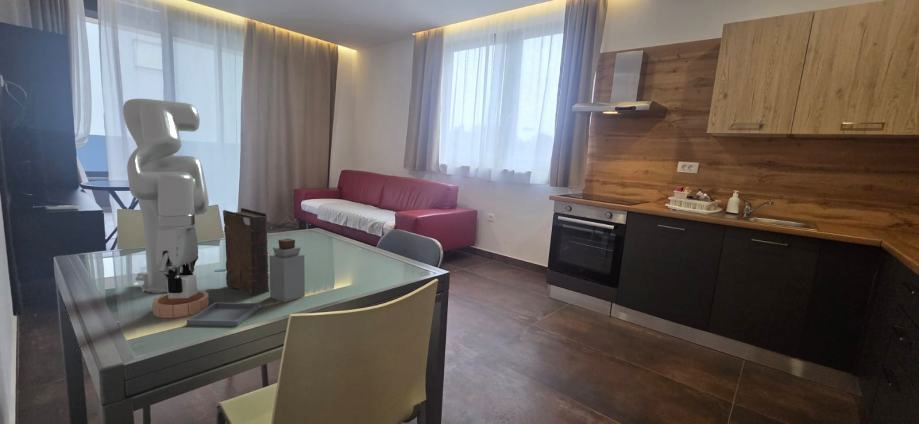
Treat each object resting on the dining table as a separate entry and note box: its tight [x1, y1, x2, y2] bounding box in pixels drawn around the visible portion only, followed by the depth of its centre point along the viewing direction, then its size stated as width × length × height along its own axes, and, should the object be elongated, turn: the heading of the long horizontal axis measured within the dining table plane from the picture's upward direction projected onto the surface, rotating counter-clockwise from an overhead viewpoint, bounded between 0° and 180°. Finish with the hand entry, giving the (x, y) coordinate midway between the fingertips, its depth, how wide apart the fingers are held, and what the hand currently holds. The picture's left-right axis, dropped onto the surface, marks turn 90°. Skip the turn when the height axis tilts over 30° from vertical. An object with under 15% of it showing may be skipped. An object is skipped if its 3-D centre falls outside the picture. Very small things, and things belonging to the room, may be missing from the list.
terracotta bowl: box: [152, 289, 210, 319], centre depth 105 cm, size 12×12×4 cm
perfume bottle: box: [268, 238, 306, 303], centre depth 116 cm, size 7×7×18 cm
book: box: [222, 207, 270, 295], centre depth 122 cm, size 17×7×25 cm, turn 50°
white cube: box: [166, 274, 198, 299], centre depth 104 cm, size 5×4×5 cm
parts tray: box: [186, 301, 261, 327], centre depth 102 cm, size 12×12×2 cm
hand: (181, 289), depth 104 cm, fingers closed on white cube, 4 cm apart
